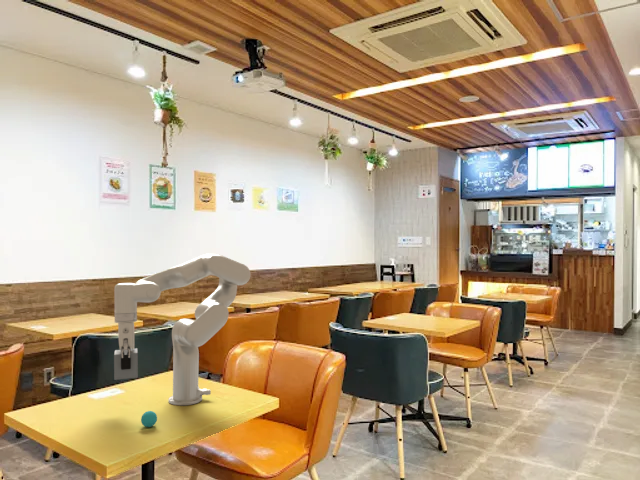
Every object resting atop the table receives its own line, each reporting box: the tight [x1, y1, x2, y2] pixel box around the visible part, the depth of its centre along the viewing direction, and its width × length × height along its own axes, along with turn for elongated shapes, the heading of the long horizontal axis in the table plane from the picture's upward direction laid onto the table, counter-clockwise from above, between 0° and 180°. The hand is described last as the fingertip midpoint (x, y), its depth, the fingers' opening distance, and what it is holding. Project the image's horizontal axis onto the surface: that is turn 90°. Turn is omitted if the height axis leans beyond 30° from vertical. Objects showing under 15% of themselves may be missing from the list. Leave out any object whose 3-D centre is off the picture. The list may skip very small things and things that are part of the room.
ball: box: [140, 410, 158, 428], centre depth 162 cm, size 5×5×5 cm
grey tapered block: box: [113, 347, 139, 381], centre depth 177 cm, size 8×8×9 cm
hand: (126, 366), depth 177 cm, fingers closed on grey tapered block, 7 cm apart
